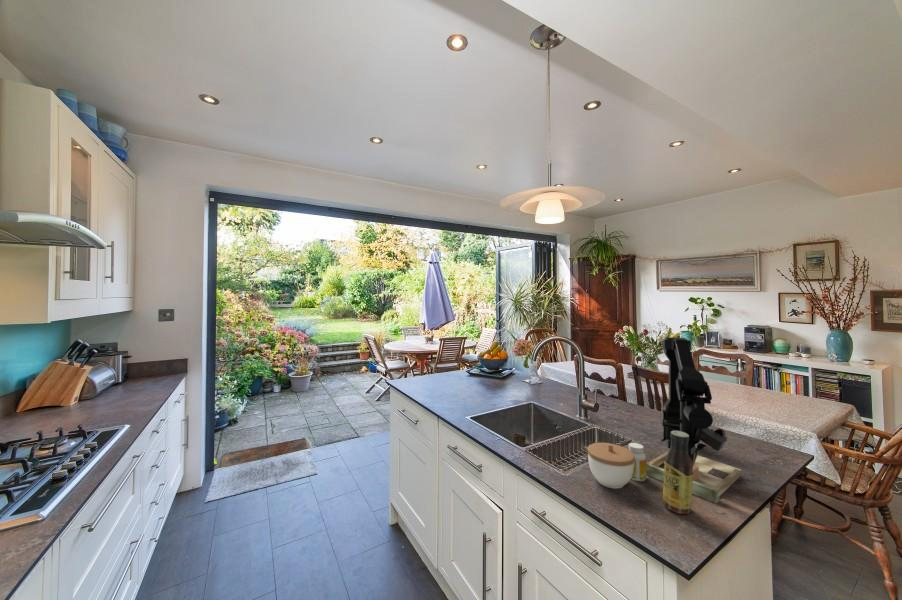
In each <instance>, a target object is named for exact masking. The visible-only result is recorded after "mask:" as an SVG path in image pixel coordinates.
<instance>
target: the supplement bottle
mask: <svg viewBox="0 0 902 600" xmlns="http://www.w3.org/2000/svg"><path fill="white" fill-rule="evenodd" d="M628 450H630V451H631V452H632V453H633V454H634V456H635V461H634V471H633V475H632V478H631V480H632V481H636V482H645V480H646V479H647V475H646V464H647V456H646V453H644V451H645V449H644V445H643V444H640V443H637V442H629V443H628Z"/></svg>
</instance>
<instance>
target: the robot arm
mask: <svg viewBox="0 0 902 600" xmlns="http://www.w3.org/2000/svg"><path fill="white" fill-rule="evenodd" d="M661 341H662V342H661V348H662V350H663V353H664V355H665V357H666V358H667V360H668V398H667V400H666V401H665V402H664V404H663V409H661V413H660V416H659V417H660V419H659V420H660V421H659V422H660V424H661V426H662V427H663V431H662V432H663V437H662V439H661V442H666V441H667V442H666V443H667V445H666V446H667V448H668V449H670V446H671V437H670V433H671V431H681V432H685V433H687V434H688V435H689V442H688V454H689V456H690V458H691V459H692V462H693V466H694V464H695V461H696V458H697V455H698V456H699V452H700V451H701V450H703V449H704V448H705V447H707V446H709V447H711V449H713V450H714V451H716V452H719V451H720V450H721V449H723V448H724V445H725V444H726V442H728V436H726V431H725V430H724V429H722V428H720V427H719V428H717V429H715V430H714V429H713V428H710V427H711V426H712V425H713V422H714V419H713V418H714V417H713V416H712V414H711V413H710V412H709V411H708V409H706V405H705V404H708V405H711V404H712V402H711V401H712V399H713V396H712V392H711V388H710V385H709V384H708V382H707V381H706V380H705V378H704V375H703V373H702V372H700V371H698V369H697V368H696V365H695V361H694V358H693V355H692V340H690V339H687V338H686V337H670V336H669V337H667V336H666V337H665V339H662V340H661Z"/></svg>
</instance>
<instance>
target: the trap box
mask: <svg viewBox="0 0 902 600" xmlns="http://www.w3.org/2000/svg"><path fill="white" fill-rule="evenodd" d="M668 452H669V450H667V451H666V452H664V453H662V454H661V455H659V456H657V457H655V458H654V459H652V460H651V461H649V462H646V476H649V477H651V478H654V479H655V480H659V481H661V482H663V483H664V467H660V466H661V465H662V464H663V465H664V461H665V458H666V456H667V454H668ZM694 466H696V467H699V476H698V480H697V481H693V484H692V495H694V496H698V497H700V498H702V499H705V500H707V501H710V502H712V503H715V504H717V503H718V502H719V501H720V500H721V499H722V497H721V495H722V494H723V493H725V492H726V491H727V490H728V488H730V487H731V486H732V485H733V484H734V483H735V482H737V480H738V479H739V478H740V475H741V474H740V473H741V471H742V469H741V468H737V467H736V466H735V467H734V466H731V465H728V464H726V463H723V462H719V461H716V460H713V459H710V458H707V457H704V456H701V455H699V454H698V455H697V458H696V461H695V464H694ZM713 469H715V470H718V471H721V472H722V473H723V472H724V473H726V474H728V475H727V476H725V477H724V479H723V478H721V477H718V476H715V475H712V474H710V473H709V472H710V471H712V470H713Z"/></svg>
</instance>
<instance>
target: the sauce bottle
mask: <svg viewBox="0 0 902 600" xmlns="http://www.w3.org/2000/svg"><path fill="white" fill-rule="evenodd" d="M670 437H671V446H670V449H669V448H668V449H669V450H668V451H669V452H668V454H667V456H666V458H665V461H664V463H663V468H664V482H663V485H662V486H663V489H662V498H663V499H662V500H663V502H662V503H663V505H664V507H665V508H666V509H668V510H670V511H671V512H673V513H675V514H678V515H679V514H681V515H688V514H690V513H691V511H692V504H693V503H692V502H693V494H692V484H693V462H692V459H691V458H690V456H689V454H688V442H689V435H688V434H687V433H685V432H681V431H671V433H670Z"/></svg>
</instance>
